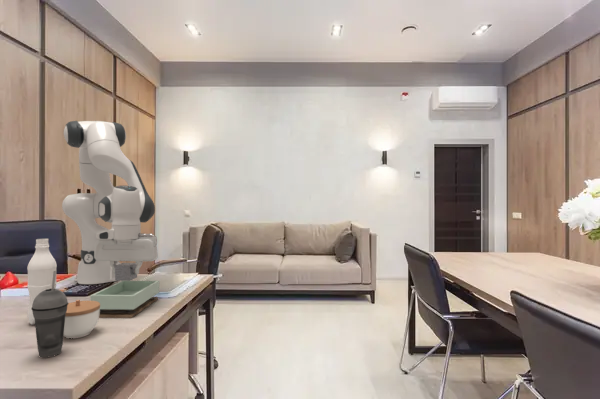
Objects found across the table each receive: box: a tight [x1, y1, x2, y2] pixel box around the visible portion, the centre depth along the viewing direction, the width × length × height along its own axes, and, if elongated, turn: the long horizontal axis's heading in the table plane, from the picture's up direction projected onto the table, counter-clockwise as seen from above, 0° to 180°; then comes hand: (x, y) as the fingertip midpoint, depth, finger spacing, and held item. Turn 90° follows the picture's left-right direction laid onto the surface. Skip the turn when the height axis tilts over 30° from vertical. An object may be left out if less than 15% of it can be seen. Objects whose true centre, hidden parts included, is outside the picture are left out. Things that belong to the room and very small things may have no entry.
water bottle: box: [26, 238, 58, 326], centre depth 106 cm, size 7×7×25 cm
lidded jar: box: [63, 299, 100, 340], centre depth 97 cm, size 11×11×9 cm
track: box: [99, 296, 159, 319], centre depth 120 cm, size 20×20×1 cm
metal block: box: [114, 262, 138, 282], centre depth 120 cm, size 5×5×5 cm
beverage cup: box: [31, 270, 69, 358], centre depth 85 cm, size 7×7×20 cm
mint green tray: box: [89, 280, 160, 311], centre depth 120 cm, size 20×14×6 cm
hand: (126, 274), depth 120 cm, fingers closed on metal block, 5 cm apart
